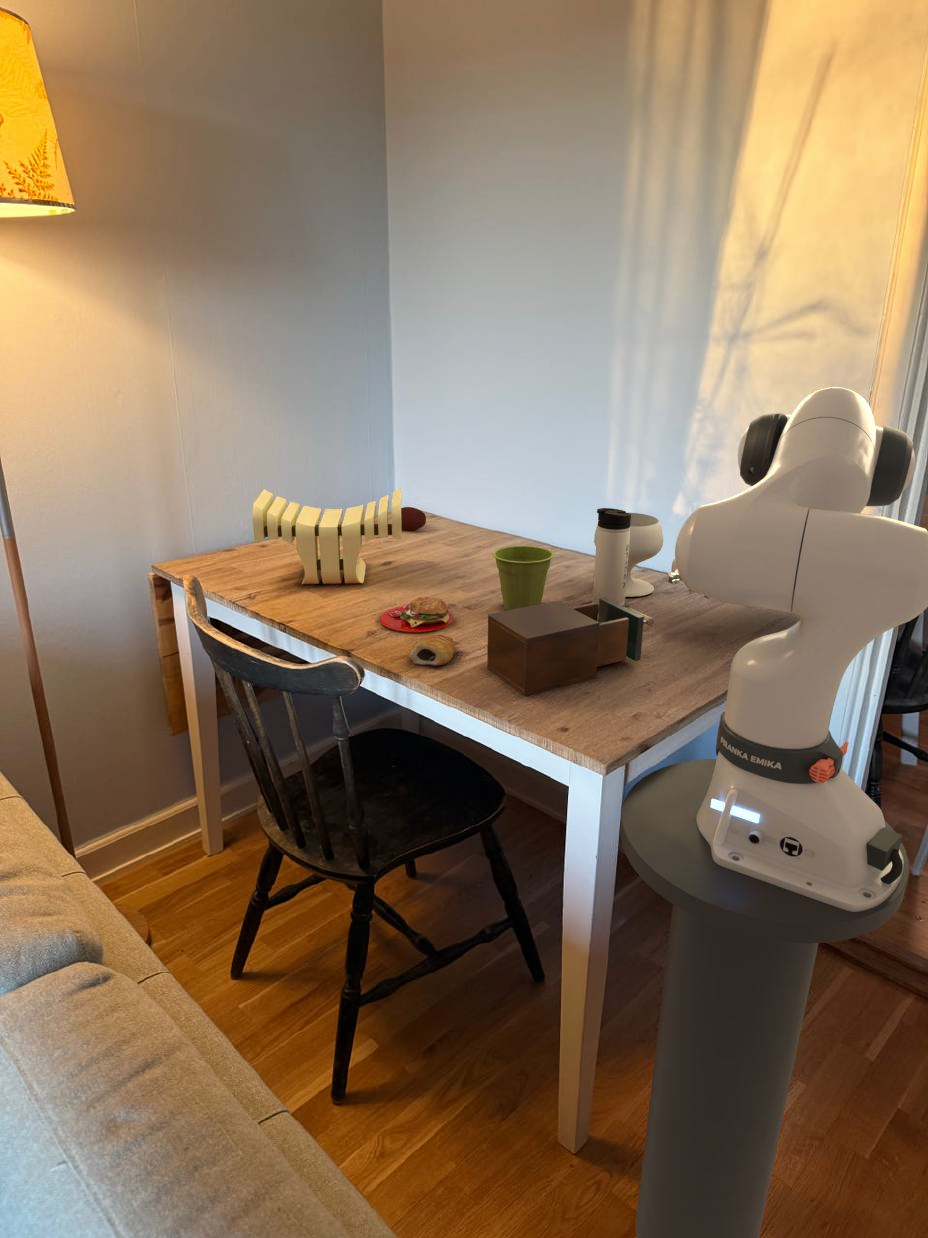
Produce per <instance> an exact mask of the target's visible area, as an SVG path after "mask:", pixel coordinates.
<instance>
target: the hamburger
mask: <svg viewBox="0 0 928 1238" xmlns="http://www.w3.org/2000/svg"><path fill="white" fill-rule="evenodd" d="M454 617H455V616H454V615H453V614H452V612H450V611H449V606H448V605H447V603H446V602H445V601H444V600H443V599H440V598H437V597H431V596H418V597H416V598H414V599H413V600H411V601H410V602H409V603H408V604H406V605H402V606H396V607H393V608H391V609H388V610H386V611H384V612H383V613H382V614H381V615H380V616H379V622H380V623H381V624H382V625H383V626H384V627H386V628H389V629H391V630H395V631H399V632H409V633H421V632H431V631H435V630H440V629H443V628H445V627H447V626H449V625H450V624H452V622H453V621H454Z"/></svg>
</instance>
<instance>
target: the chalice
mask: <svg viewBox="0 0 928 1238" xmlns="http://www.w3.org/2000/svg"><path fill="white" fill-rule="evenodd" d="M628 513H629V514H631V522H630V526H631V527H630V540H629V553H628V565H627V578H626V591H625V598H626V597H631V598H632V597H642V596H643V597H644V596H646V595H649V594H652V593H653V592H654V591H655V587H654V586H653V584H651V583H650V582H648V581H646V580H643V579H640V578H635V577H631V572H632V569H633V568H634V567H635V566H637V565H638V564H640V563H642V562H645V561H647V560H649V559H653V557H655V556H657V554H659V553H660V551H661V550H662V549H663V547H664V546H663V545H664V533H663V529H662V524H661V522H660V520H659V519H658V518H657V517H655V516H653V515H649V514H644V513H638V512H628ZM593 539H594V540H593V543H594V546H595V547H596V539H597V527H596V528H595V532H594V538H593Z"/></svg>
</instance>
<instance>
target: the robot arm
mask: <svg viewBox="0 0 928 1238" xmlns="http://www.w3.org/2000/svg"><path fill="white" fill-rule="evenodd" d="M737 464H738V469H739V476H740V478H741V479H742V480H743V482H744V484H746V485H747V486H750V487H749V488H747V489H745V490H743V491H742V492H739V493H738V494H736V495H733V496H731V497H728V498H725V499H722V500H719V501H715V502H711V503H707V504H703V505H701V506H699V507H698V508H696V509H695V510H694V511H693V512H692V513H691V514H690V515H689V516H688V517H687V518H686V520H685V521H684V522H683V524H682V526H681V528H680V530H679V532H678V535H677V537H676V541H675V548H674V559H672V562H671V572H668V573H667V575H666V582H667V583H669V584H672V585H677V584H680V582H683V584H684V585H685V586H686V588H687V589H688V590H689V591H692V592H695V593H698V594H701V595H703V597H704V598H706V599H707V600H710V601H715V600H717V601H719V602H723V603H727V604H730V605H737V606H743V607H745V608H750V609H751V608H752V609H756V608H758V609H764V610H771V611H778V612H785V613H792V614H794V615H797V616H798V617H799V620H798V621H797V622H796V623H795V624H793V625H792V626H790V627H788V628H786V629H784V630H781V631H777V632H774V633H770V634H765V635H763V636H760V637H757V638H754V639H753V640H750V641H749V642H747V643H745V644H744V645H743V646H742V647H741V648H739V649H738V651H737V652H736V653H735V655H734V656H733V659H732V661H731V665H730V670H729V671H730V672H729V678H728V687H727V695H726V702H725V708H724V709H725V710H724V711H723V712H722V714H721V715H720V718H719V723H718V728H717V734H716V743H715V744H716V745H715V755H716V756H717V757H716V759H717V761H716V765H715V769H714V773H713V776H712V780H711V783H710V786H709V789H708V792H707V794H706V797H705V799H704V801H703V803H702V805H701V807H700V809H699V811H698V813H697V817H696V821H697V826H698V828H699V831H700V832H701V834H702V835H703V837H704V838H705V839H706V840H707V842H708V843H709V845H710V847H711V853H712V857H713V860H714V861H715V863H717V864H718V865H720V866H722V867H725V868H728V869H731V870H733V871H736V872H739V873H742V874H745V875H747V876H750V877H753V878H756V879H759V880H762V881H764V882H767V883H770V884H773V885H776V886H778V887H781V888H784V889H787V890H790V891H793V892H795V893H798V894H801V895H804V896H807V897H810V898H812V899H815V900H818V901H821V902H824V903H826V904H829V905H832V906H835V907H838V908H841V909H844V910H847V911H850V912H859V911H864V910H868V909H871V908H873V907H875V906H877V905H879V904H881V903H882V902H884V901H885V900H886V899H887V898H888V897H889V896H890V895H891V894H892V893H893V892H894V890H895V889H896V887H897V886H898V884H899V883H900V880H901V878H902V874H903V866H904V860H903V856H902V853H901V851H900V845H901V842H903V835H902V834H900V833H898V832H896V831H895V830H894V831H895V832H894V831H891V830H889V829H887V828H885V821H886V820H885V817H884V814H883V811H882V809H881V808H880V806H878V804H877V803H875V801H874V800H873V799H872V798H870V796H869V795H868V794H867V793H865V791H863V789H861V787H860V786H859V785H858V784H857V783H856V782H855V781H854V780H853V779H852V778H851V777H850V776H849V775H848V774H847V772H846V771H845V770H844V769H843V768H842V764H843V760H844V759H843V757H844V756H845V755H846V754H847V752H848V747H849V741H845V742H844V743H843V744H842V745H841V746H840V747H839V745H838V744H837V742H836V740H834V738H833V736H832V733H831V731H830V725H831V720H832V715H833V711H834V707H835V703H836V699H837V695H838V693H839V689H840V685H841V683H842V680H843V677H844V675H845V673H846V671H847V669H848V668H849V666H850V665H851V663H852V662H853V660H855V658H856V656H858V654H859V653H860V652H861V651H862V650H863V649H864V648H865V647H866V646H867V645H869V644H870V643H871V642H872V641H874V640H875V639H876V638H878V637H879V636H881V635H882V634H884V633H886V632H888V631H890V630H892V629H894V628H896V627H898V626H900V625H901V626H902V625H903V624H905V623H908V622H910V621H912V620H913V619H915V618H917V617H918V616H920V615H921V614H922V613H923V612H924V611H926V610H927V608H928V530H927V529H926V528H925V527H921V526H918V525H915V524H912V523H909V522H905V521H902V520H898V519H896V518H895V519H894V518H891V517H888V516H883V515H879V514H871V513H862V512H863V510H864V509H865V508H866V507H885V506H890V505H892V504H893V503H895V502H896V501H898V500H899V499H900V498H901V495H902V493H904V491H906V489H907V487H908V486H909V484H910V482H911V481H912V478H913V477H914V473H915V469H916V454H915V450H914V441H913V440H912V438H911V437H910V436H909V435H908V433H906V432H905V431H903V430H900V429H897V428H895V427H893V426H889V425H883V426H877V425H876V424H875V419H874V415H873V412H872V408H871V407H870V405H869V403H868V402H867V400H865V398H864V397H863V396H861V395H860V394H858V393H857V392H856V391H853V390H851V389H848V388H845V387H837V386H835V387H826V388H822V389H819V390H816V391H813V392H812V393H810V394H809V395H807V396H806V397H805V398H804V399H803V400H802V401H800V403H799V404H798V406H797V407H796V408H795V409H794V410H793V412H792V414H785V413H783V412H773V413H764V414H761V415H759V416H758V417H756V418H754V419H752V421H751V422H750V423H749V425H748V427H747V428H746V430H745V431H744V432H743V434H742V436H741V438H740V441H739V444H738V447H737ZM884 820H885V821H884Z"/></svg>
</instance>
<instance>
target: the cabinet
mask: <svg viewBox="0 0 928 1238" xmlns="http://www.w3.org/2000/svg"><path fill="white" fill-rule="evenodd" d="M570 607H571V606H568V605H567V604H564V603H563V602H561V601H559V600H553V601H548V602H543V603H541V604H538V605H533V606H528V607H523V608H518V609H513V610H503V611H497V612H493V613H489V614H487V662H486V668H487V669H488V670H489V671H490V672H491V673H493V674H494V675H496V677H498V678H499V679H501V680H502V681H504V682H505V683H506V684H508V685H509V686H511V687H512V688H514V689H515V690H516V691H517V692H519V693H520V694H522V695H523V696H525V697H527V696H530V695H535V694H538V693H543V692H546V691H547V692H548V691H550V690H554V689H559V688H561V687H562V688H563V687H566V686H570V685H574V684H578V683H582V682H585V681H590V680H593V679H596V678H597V654H598V639H599V624H600V623H599V622H598V620H597V621H595V620H593V619H591V618H589V617H587V616H586V615H584V614H582V613H580V612H578V611H576V610H574V609H572V608H570Z"/></svg>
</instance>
